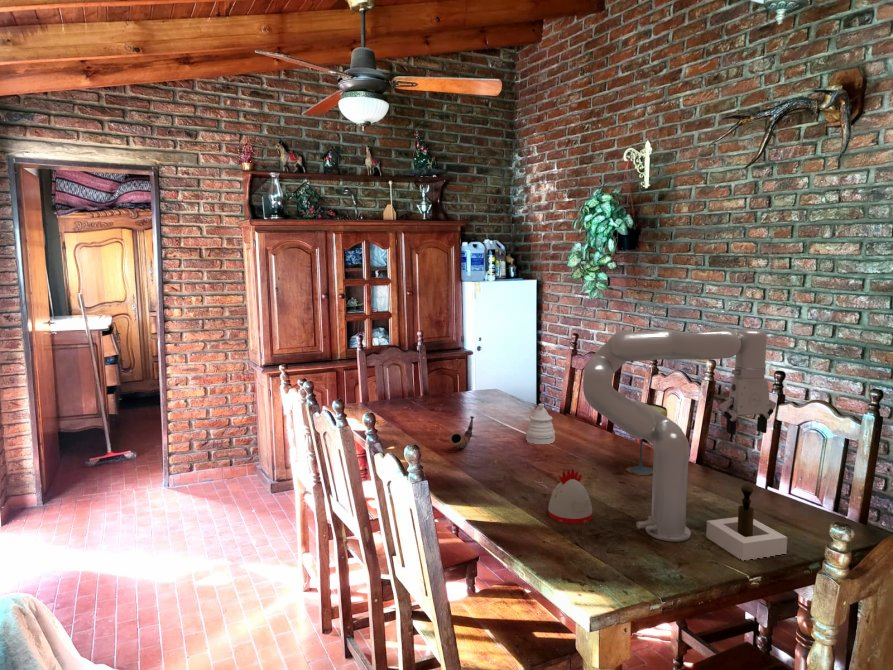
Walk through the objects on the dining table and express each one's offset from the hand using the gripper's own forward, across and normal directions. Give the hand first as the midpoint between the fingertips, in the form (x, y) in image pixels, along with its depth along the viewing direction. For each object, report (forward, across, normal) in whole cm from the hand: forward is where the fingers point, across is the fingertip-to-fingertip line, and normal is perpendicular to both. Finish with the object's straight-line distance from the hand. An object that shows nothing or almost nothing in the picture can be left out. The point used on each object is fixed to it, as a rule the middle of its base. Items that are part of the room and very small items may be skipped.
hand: (746, 432), depth 175 cm
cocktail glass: (+32, +1, +60) cm, 68 cm away
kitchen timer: (+32, -42, +27) cm, 59 cm away
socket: (+32, -2, -4) cm, 32 cm away
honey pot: (+32, -24, +105) cm, 112 cm away
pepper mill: (+32, -2, -4) cm, 32 cm away
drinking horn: (+32, -58, +108) cm, 127 cm away
